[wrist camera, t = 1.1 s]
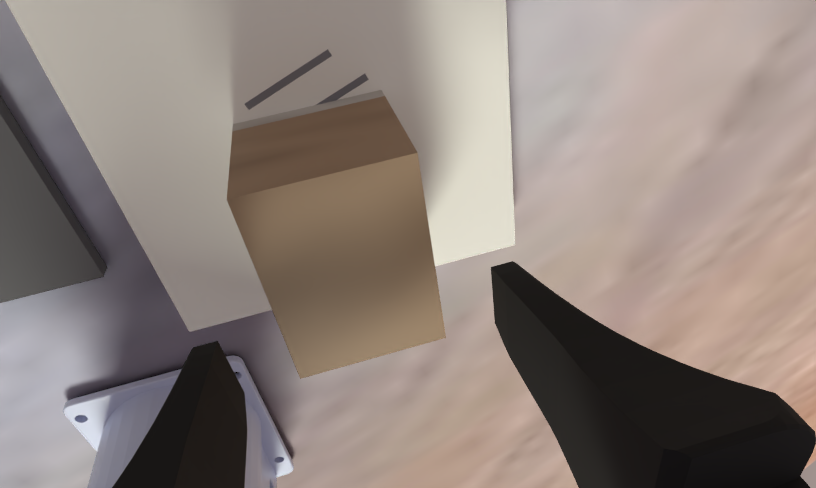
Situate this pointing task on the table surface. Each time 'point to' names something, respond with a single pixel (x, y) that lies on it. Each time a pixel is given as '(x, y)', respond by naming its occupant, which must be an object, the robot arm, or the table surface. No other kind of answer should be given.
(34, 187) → the mat
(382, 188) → the block
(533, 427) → the table surface
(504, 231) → the board
